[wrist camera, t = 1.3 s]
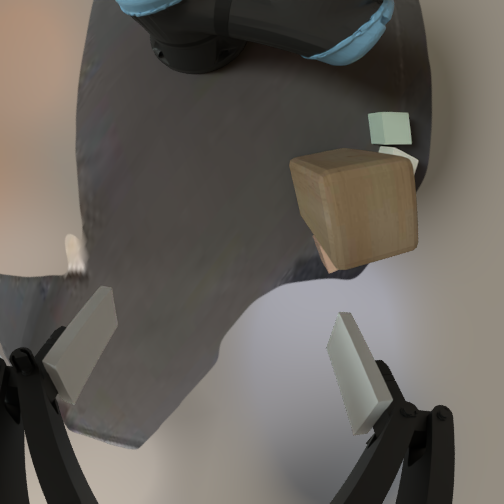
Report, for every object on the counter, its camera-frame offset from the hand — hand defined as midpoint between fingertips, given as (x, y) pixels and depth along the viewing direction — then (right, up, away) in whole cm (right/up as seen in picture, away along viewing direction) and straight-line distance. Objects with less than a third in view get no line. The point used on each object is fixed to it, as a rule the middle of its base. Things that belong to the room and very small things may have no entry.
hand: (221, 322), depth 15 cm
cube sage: (+23, +24, +23) cm, 41 cm away
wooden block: (+13, +15, +27) cm, 34 cm away
